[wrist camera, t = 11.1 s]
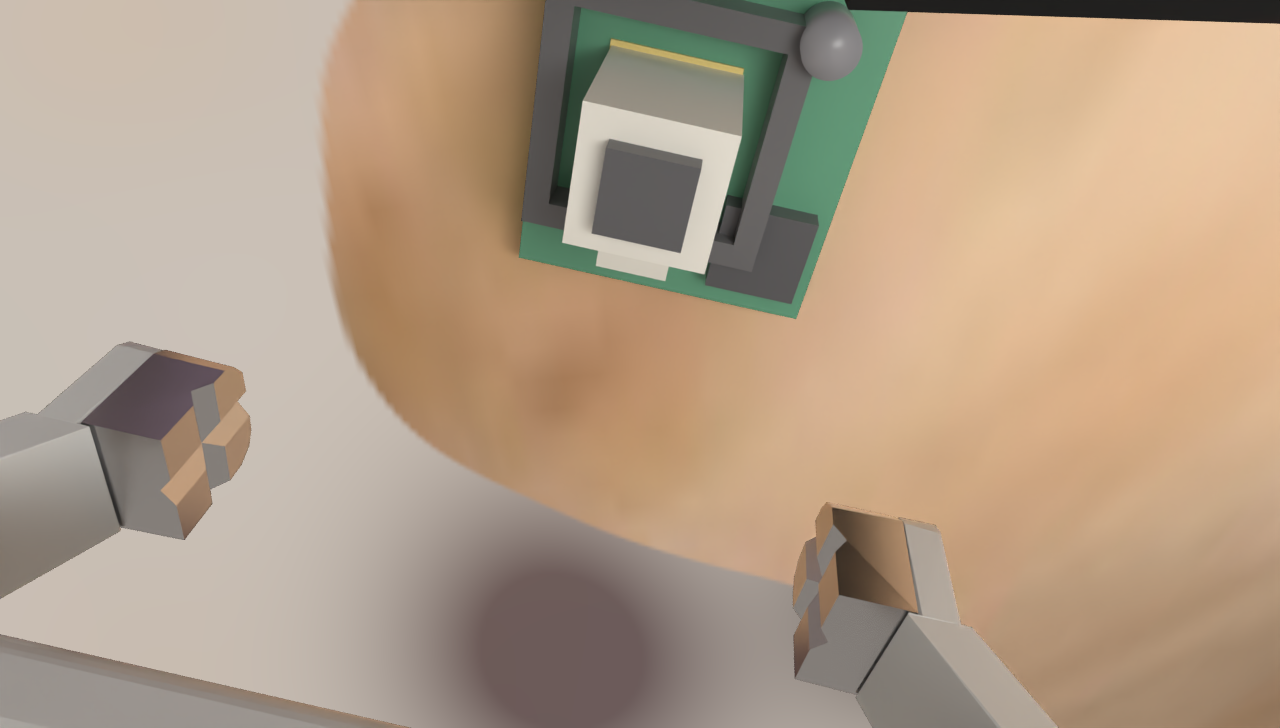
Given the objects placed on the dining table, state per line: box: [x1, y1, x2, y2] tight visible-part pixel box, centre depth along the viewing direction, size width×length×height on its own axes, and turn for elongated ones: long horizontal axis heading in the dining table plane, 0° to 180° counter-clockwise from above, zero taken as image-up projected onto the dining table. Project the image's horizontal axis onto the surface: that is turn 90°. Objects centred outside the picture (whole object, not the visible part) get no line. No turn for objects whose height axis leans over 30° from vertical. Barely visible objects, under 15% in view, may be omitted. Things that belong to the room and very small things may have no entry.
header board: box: [519, 0, 907, 319], centre depth 25 cm, size 10×12×3 cm
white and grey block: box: [562, 45, 744, 281], centre depth 23 cm, size 4×5×6 cm
